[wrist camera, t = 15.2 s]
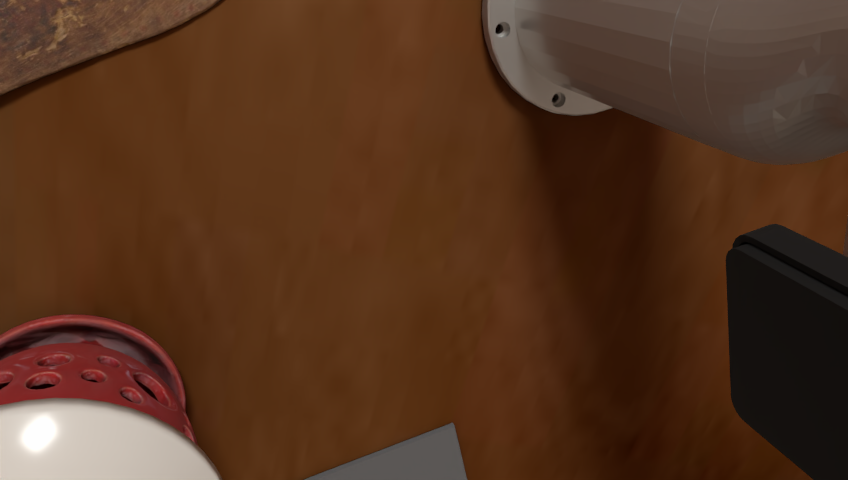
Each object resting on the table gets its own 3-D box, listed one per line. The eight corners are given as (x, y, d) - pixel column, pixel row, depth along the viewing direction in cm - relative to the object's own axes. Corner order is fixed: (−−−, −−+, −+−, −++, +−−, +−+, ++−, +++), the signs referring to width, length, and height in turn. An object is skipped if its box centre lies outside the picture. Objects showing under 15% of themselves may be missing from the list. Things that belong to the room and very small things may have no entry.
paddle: (-345, 136, 34) (-365, 145, 33) (220, -239, 36) (223, -245, 34) (-181, 273, 38) (-193, 285, 37) (322, -70, 40) (328, -70, 38)
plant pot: (-84, 311, 40) (-170, 452, 29) (184, 282, 44) (194, 397, 33) (-34, 515, 45) (-91, 699, 34) (204, 473, 48) (218, 627, 38)
